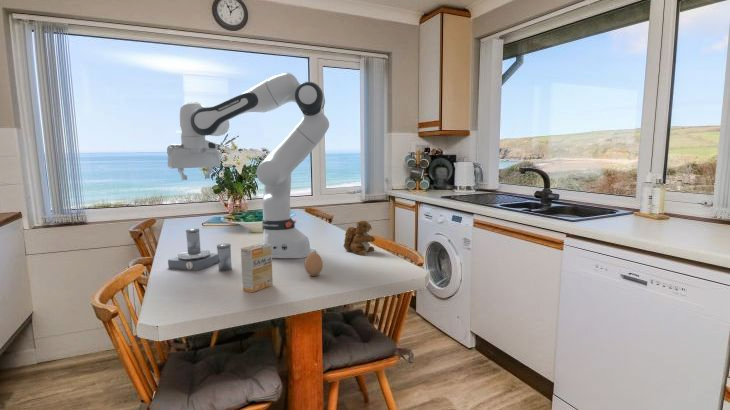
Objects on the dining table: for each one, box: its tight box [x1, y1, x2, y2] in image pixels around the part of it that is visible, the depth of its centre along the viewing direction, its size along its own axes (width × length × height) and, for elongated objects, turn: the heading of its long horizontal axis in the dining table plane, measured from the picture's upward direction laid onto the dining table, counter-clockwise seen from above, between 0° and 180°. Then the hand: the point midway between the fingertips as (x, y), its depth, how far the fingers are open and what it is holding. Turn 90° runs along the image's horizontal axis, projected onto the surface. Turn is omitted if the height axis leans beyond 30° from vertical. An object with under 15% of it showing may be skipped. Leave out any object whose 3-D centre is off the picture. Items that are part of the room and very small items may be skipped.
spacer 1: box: [185, 227, 202, 255], centre depth 142 cm, size 5×5×9 cm
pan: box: [177, 249, 211, 260], centre depth 143 cm, size 11×11×1 cm
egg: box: [304, 252, 324, 277], centre depth 128 cm, size 6×6×8 cm
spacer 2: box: [216, 242, 233, 272], centre depth 136 cm, size 5×5×9 cm
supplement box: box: [240, 242, 274, 293], centre depth 116 cm, size 8×5×13 cm, turn 148°
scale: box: [167, 252, 218, 271], centre depth 143 cm, size 13×13×3 cm
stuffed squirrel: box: [343, 220, 376, 256], centre depth 159 cm, size 10×14×13 cm
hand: (196, 179), depth 154 cm, fingers open, 8 cm apart
